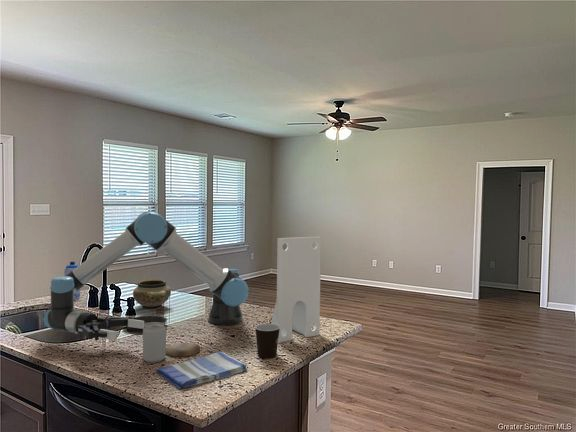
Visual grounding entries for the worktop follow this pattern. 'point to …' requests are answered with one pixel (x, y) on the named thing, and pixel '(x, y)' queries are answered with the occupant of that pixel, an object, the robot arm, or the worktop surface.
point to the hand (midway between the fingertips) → (130, 330)
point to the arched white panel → (298, 287)
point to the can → (154, 342)
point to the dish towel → (202, 370)
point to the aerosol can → (67, 271)
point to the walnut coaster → (182, 349)
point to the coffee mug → (267, 340)
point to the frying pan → (148, 321)
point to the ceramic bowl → (151, 294)
